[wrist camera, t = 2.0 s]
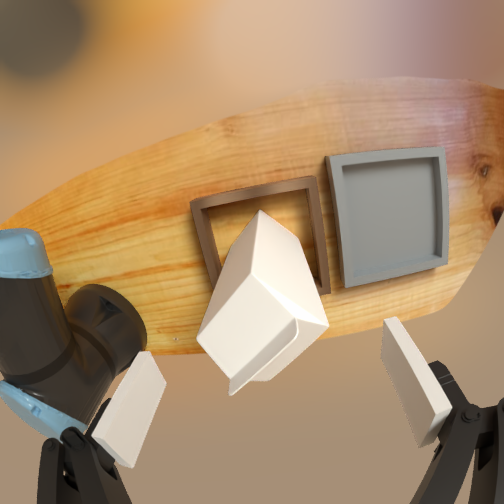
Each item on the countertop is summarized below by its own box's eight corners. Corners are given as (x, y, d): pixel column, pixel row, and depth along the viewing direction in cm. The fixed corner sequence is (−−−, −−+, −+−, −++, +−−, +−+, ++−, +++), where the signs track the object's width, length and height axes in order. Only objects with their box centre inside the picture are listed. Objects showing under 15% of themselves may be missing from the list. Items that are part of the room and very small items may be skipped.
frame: (223, 300, 37) (219, 311, 34) (196, 198, 32) (189, 202, 30) (326, 282, 35) (331, 293, 32) (311, 175, 31) (315, 177, 28)
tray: (340, 279, 35) (345, 288, 33) (324, 156, 30) (329, 156, 28) (439, 258, 33) (447, 264, 31) (434, 146, 28) (444, 146, 26)
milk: (298, 237, 33) (344, 360, 13) (268, 273, 35) (270, 417, 14) (258, 207, 32) (248, 300, 12) (229, 246, 34) (182, 374, 13)
